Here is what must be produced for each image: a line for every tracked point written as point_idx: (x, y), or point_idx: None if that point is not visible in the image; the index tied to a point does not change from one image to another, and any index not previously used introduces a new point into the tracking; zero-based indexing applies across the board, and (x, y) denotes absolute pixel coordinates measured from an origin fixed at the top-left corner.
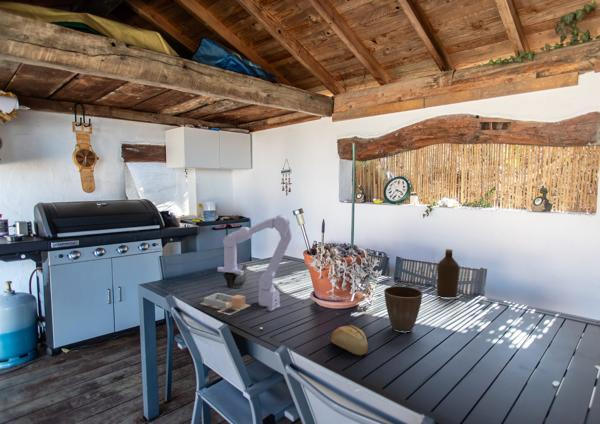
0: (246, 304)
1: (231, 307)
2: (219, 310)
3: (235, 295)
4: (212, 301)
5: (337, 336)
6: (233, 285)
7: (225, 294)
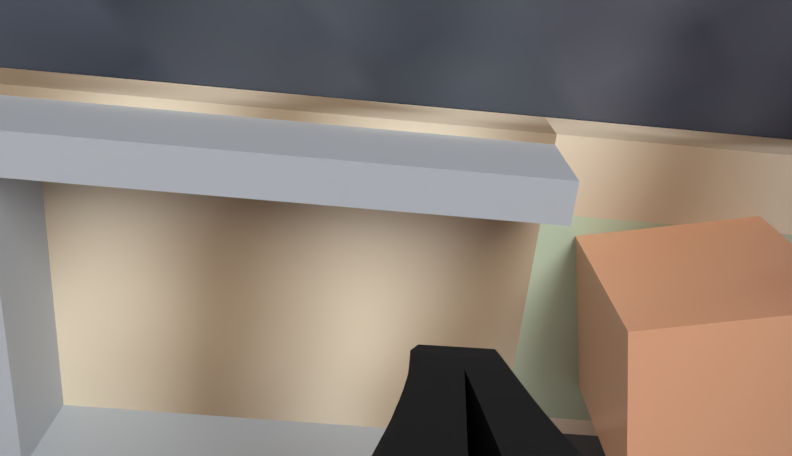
0: (765, 167)
1: (578, 395)
2: None
3: (627, 376)
4: None
5: None
6: (518, 383)
7: (187, 154)
